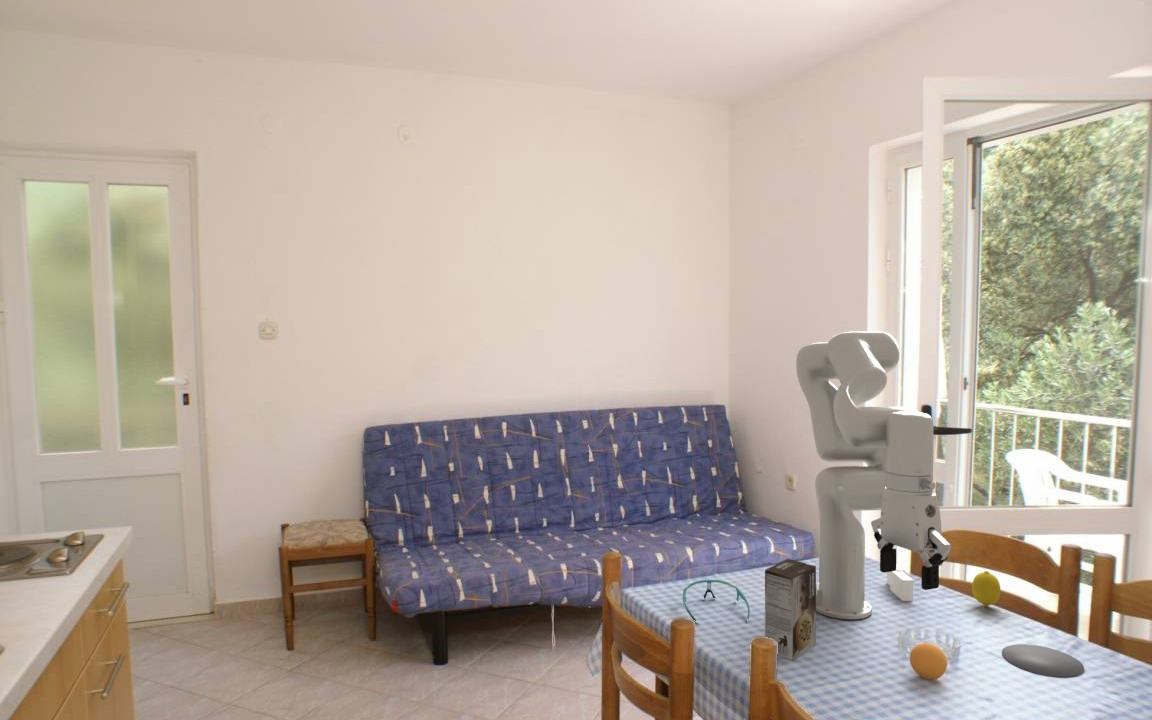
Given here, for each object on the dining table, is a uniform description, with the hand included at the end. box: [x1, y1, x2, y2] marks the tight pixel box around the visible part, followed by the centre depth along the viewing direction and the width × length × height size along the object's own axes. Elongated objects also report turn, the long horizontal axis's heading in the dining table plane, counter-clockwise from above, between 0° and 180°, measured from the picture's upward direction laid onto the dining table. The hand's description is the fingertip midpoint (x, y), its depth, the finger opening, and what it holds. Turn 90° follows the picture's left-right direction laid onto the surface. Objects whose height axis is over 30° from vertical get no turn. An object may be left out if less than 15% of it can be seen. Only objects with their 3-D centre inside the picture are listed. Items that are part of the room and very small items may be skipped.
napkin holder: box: [886, 563, 914, 602], centre depth 174 cm, size 15×11×6 cm
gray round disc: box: [1001, 643, 1085, 678], centre depth 139 cm, size 13×13×1 cm
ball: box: [909, 642, 948, 680], centre depth 132 cm, size 6×6×6 cm
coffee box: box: [764, 558, 817, 661], centre depth 144 cm, size 9×6×16 cm
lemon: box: [971, 570, 1001, 608], centre depth 164 cm, size 6×6×8 cm
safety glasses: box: [682, 579, 751, 622], centre depth 163 cm, size 14×15×5 cm
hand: (908, 579), depth 130 cm, fingers open, 9 cm apart
